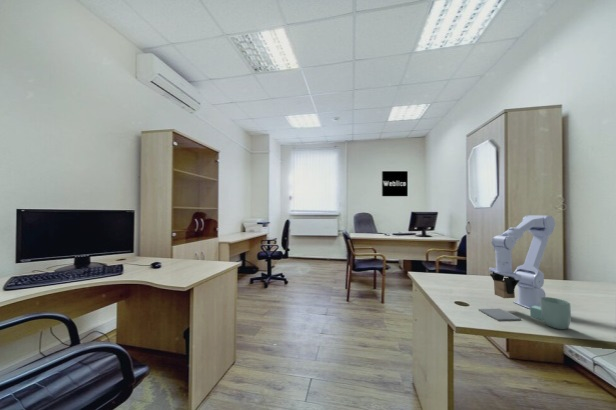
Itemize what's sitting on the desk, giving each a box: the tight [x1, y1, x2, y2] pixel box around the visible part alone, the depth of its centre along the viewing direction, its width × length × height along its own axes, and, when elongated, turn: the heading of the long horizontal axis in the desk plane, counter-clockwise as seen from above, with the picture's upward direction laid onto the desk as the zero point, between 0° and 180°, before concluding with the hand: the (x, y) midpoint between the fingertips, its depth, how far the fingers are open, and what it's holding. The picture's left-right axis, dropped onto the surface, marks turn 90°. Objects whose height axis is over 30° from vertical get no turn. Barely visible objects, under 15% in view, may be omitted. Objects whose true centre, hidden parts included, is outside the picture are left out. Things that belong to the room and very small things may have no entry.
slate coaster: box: [478, 308, 522, 322], centre depth 100 cm, size 10×10×1 cm
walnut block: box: [493, 279, 516, 299], centre depth 106 cm, size 5×5×6 cm
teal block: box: [529, 306, 543, 321], centre depth 97 cm, size 4×4×4 cm
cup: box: [541, 296, 572, 330], centre depth 89 cm, size 8×8×10 cm
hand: (504, 291), depth 106 cm, fingers closed on walnut block, 5 cm apart
